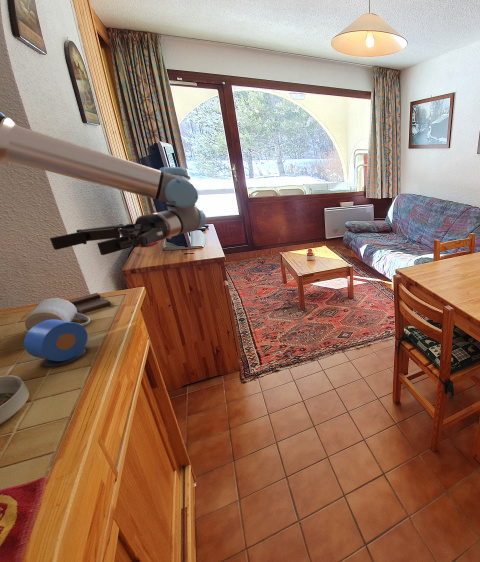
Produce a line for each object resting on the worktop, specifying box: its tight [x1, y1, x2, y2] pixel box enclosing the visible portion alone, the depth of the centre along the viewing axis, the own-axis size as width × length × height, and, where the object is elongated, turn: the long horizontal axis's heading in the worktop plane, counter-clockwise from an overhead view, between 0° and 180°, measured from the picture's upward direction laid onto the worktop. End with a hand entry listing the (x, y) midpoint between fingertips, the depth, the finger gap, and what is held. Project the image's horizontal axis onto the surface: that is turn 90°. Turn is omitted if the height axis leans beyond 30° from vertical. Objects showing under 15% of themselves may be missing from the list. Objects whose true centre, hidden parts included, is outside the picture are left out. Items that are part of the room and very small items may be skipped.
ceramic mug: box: [25, 297, 91, 331], centre depth 79 cm, size 11×8×8 cm
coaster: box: [43, 347, 86, 368], centre depth 69 cm, size 7×7×1 cm
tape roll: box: [23, 319, 89, 361], centre depth 67 cm, size 5×8×8 cm, turn 167°
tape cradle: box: [68, 292, 112, 314], centre depth 91 cm, size 11×7×2 cm, turn 56°
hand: (76, 246), depth 69 cm, fingers open, 13 cm apart
